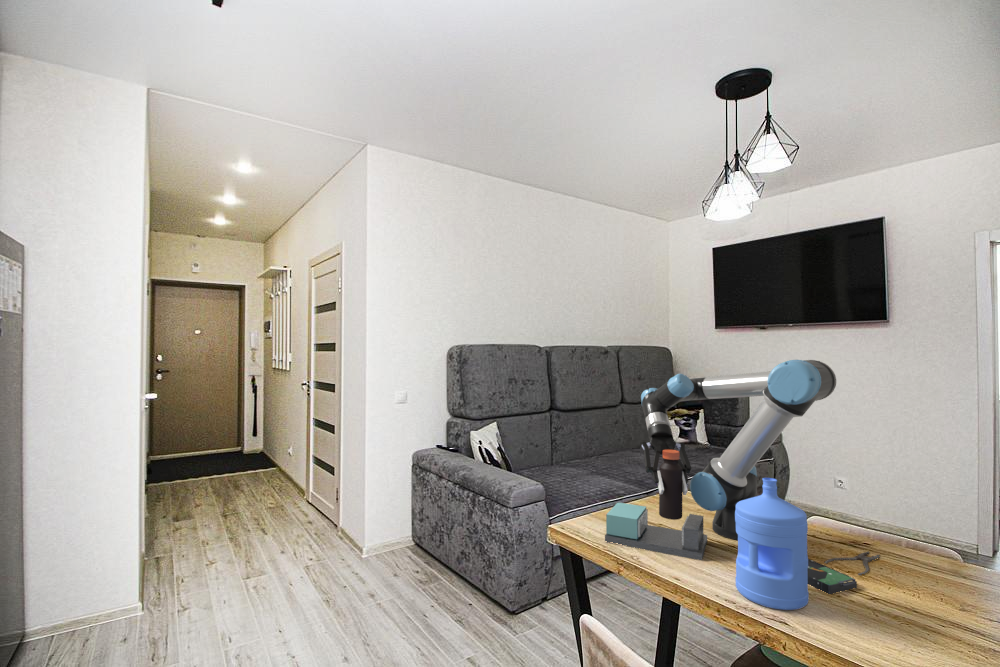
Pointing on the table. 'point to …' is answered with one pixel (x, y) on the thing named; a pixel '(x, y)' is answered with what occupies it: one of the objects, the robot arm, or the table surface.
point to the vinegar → (671, 486)
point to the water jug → (772, 550)
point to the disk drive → (828, 578)
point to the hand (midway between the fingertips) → (673, 492)
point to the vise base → (670, 539)
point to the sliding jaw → (626, 520)
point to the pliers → (860, 557)
